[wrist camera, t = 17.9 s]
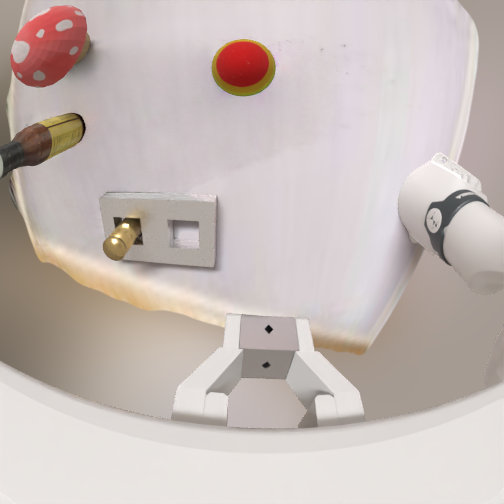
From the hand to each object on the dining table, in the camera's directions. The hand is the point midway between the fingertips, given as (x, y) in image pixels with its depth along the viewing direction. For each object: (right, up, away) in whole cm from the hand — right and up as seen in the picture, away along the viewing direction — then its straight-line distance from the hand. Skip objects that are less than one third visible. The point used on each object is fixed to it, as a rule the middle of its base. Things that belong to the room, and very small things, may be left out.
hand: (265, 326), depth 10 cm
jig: (-17, +8, +36) cm, 40 cm away
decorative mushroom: (-29, +37, +18) cm, 50 cm away
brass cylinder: (-22, +8, +36) cm, 42 cm away
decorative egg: (-2, +29, +23) cm, 36 cm away
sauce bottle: (-31, +24, +26) cm, 47 cm away
